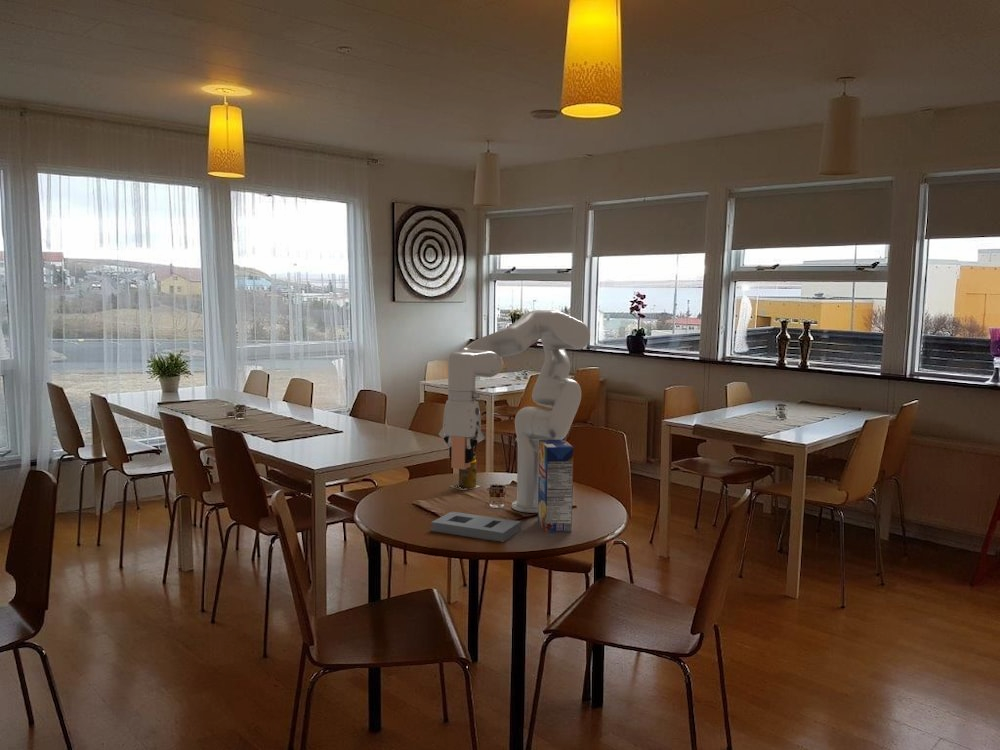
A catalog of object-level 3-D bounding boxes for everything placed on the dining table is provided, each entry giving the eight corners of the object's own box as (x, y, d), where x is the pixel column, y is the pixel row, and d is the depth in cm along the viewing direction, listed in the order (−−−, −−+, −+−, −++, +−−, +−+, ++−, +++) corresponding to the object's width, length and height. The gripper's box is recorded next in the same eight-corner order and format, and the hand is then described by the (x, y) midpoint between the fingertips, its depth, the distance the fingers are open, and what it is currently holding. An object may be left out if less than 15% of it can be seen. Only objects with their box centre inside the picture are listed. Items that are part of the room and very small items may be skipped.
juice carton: (537, 520, 224) (539, 439, 221) (562, 519, 225) (564, 439, 222) (545, 532, 212) (547, 447, 210) (571, 532, 213) (573, 447, 211)
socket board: (451, 519, 223) (451, 511, 223) (520, 530, 214) (520, 521, 214) (431, 530, 212) (431, 522, 212) (503, 541, 203) (503, 532, 203)
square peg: (458, 465, 216) (458, 433, 215) (470, 466, 214) (470, 434, 213) (451, 467, 212) (451, 435, 211) (464, 469, 211) (464, 437, 210)
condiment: (481, 486, 264) (481, 452, 263) (463, 490, 258) (463, 455, 257) (467, 483, 269) (467, 449, 268) (449, 487, 263) (449, 452, 262)
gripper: (494, 396, 211) (493, 461, 213) (441, 393, 218) (441, 456, 220) (483, 399, 205) (482, 467, 206) (428, 396, 212) (428, 461, 213)
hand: (461, 460), depth 213 cm, fingers closed on square peg, 4 cm apart
